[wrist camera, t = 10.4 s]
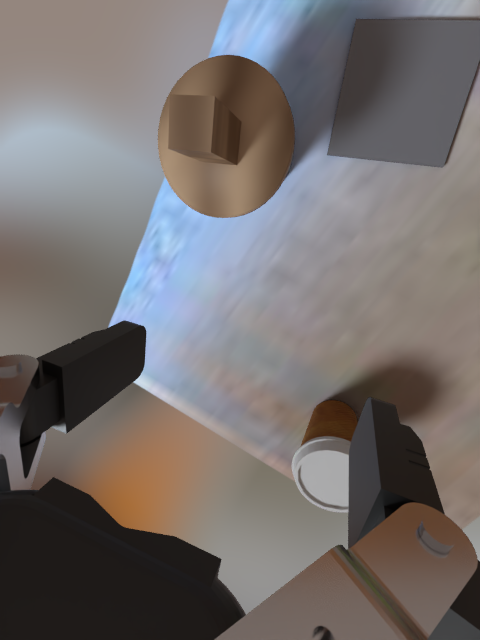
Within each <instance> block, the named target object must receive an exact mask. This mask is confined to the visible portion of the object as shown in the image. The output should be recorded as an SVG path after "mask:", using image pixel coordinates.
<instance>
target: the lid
mask: <svg viewBox="0 0 480 640" xmlns="http://www.w3.org/2000/svg"><path fill="white" fill-rule="evenodd" d="M294 144H295V128H294V121H293V116H292V112H291V109H290V106H289V104H288V101H287V99H286V96H285V94H284V92H283V90H282V89H281V87H280V85H279V84H278V82H277V81H276V80H275V78H274V77H273V76H272V75H271V74H270V73H269V72H268V71H267V70H266V69H265V68H264V67H262V66H261V65H259V64H258V63H256V62H254V61H252V60H250V59H248V58H244V57H240V56H234V55H222V56H216V57H212V58H209V59H206V60H204V61H202V62H200V63H198V64H196V65H195V66H193V67H192V68H191V69H189V70H188V71H187V72H186V73H185V74H184V75H183V76H182V77H181V78H180V79H179V80H178V81H177V83H176V84H175V86H174V87H173V88H172V90H171V92H170V94H169V96H168V97H167V100H166V102H165V105H164V107H163V110H162V114H161V117H160V123H159V129H158V149H159V157H160V161H161V165H162V169H163V171H164V174H165V177H166V179H167V181H168V183H169V185H170V186H171V188H172V189H173V191H174V192H175V193H176V195H177V196H178V197H179V198H180V199H181V200H182V201H183V202H184V203H185V204H186V205H188V206H189V207H190V208H192V209H194V210H195V211H197V212H199V213H202V214H204V215H207V216H212V217H220V218H229V217H237V216H242V215H245V214H248V213H250V212H252V211H254V210H256V209H258V208H259V207H261V206H262V205H263V204H265V203H266V202H267V201H268V200H269V199H270V198H271V197H272V196H273V195H274V194H275V193H276V191H277V190H278V189H279V187H280V186H281V184H282V183H283V181H284V179H285V177H286V175H287V173H288V170H289V167H290V164H291V161H292V157H293V152H294Z"/></svg>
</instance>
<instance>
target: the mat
mask: <svg viewBox="0 0 480 640" xmlns="http://www.w3.org/2000/svg"><path fill="white" fill-rule="evenodd" d="M479 61H480V20H395V19H356V22H355V27H354V32H353V36H352V41H351V46H350V50H349V55H348V60H347V64H346V69H345V74H344V78H343V83H342V88H341V92H340V97H339V102H338V106H337V111H336V116H335V120H334V125H333V130H332V134H331V139H330V144H329V148H328V153H327V155H331V156H340V157H350V158H359V159H368V160H378V161H387V162H396V163H406V164H415V165H424V166H434V167H444V164H445V161H446V158H447V155H448V152H449V149H450V146H451V143H452V140H453V137H454V134H455V132H456V129H457V126H458V123H459V120H460V117H461V114H462V111H463V108H464V105H465V102H466V99H467V96H468V93H469V90H470V87H471V84H472V81H473V78H474V75H475V72H476V70H477V67H478V64H479Z"/></svg>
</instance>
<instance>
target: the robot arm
mask: <svg viewBox="0 0 480 640" xmlns="http://www.w3.org/2000/svg"><path fill="white" fill-rule="evenodd" d="M145 346H146V329H145V327H144V326H141V325H138V324H135V323H132V322H128V321H122V322H120V323H118V324H115V325H113V326H111V327H109V328H107V329H105V330H101V331H96V332H92V333H91V334H88V335H86V336H84V337H82V338H81V339H77V340H75V341H73V342H72V343H71V344H70V343H69V344H67V345H64V346H62V347H60V348H58V349H56V350H53V351H51V352H49V353H47V354H45V355H43V356H41V357H38V358H34V357H31V356H28V355H6V356H1V357H0V640H480V561H478V560H477V555H476V552H475V549H474V547H473V545H472V543H471V542H470V540H469V539H468V537H467V536H466V534H465V533H464V532H463V531H462V530H461V529H460V528H459V527H458V525H457V524H455V523H454V522H453V521H452V520H451V519H450V518H448V517H447V516H446V515H445V514H444V510H443V507H442V504H441V501H440V498H439V495H438V491H437V488H436V485H435V482H434V479H433V476H432V472H431V470H429V469H430V466H429V463H428V460H427V458H426V453H425V450H424V447H423V444H422V441H421V440H420V439H419V437H418V436H417V435H416V434H415V432H414V431H413V430H412V429H411V427H409V426H406V425H402V424H400V423H399V418H398V414H397V410H396V406H395V405H394V404H390V403H387V402H384V401H381V400H378V399H374V398H371V397H369V398H368V399H367V401H366V403H365V405H364V408H363V410H362V413H361V416H360V418H359V421H358V424H357V426H356V429H355V431H354V434H353V437H352V440H351V444H350V449H349V506H348V513H349V514H348V529H349V530H348V550H346V549H345V548H344V547H343V545H338V546H335V547H333V548H332V549H330V550H329V551H328V552H326V553H325V554H324V555H323V556H321V557H320V558H319V559H317V560H316V561H315V562H314V563H312V564H311V565H310V566H308V567H307V568H306V569H305V570H303V571H302V572H301V573H299V574H298V575H297V576H296V577H295V578H293V579H292V580H291V581H289V582H288V583H287V584H285V585H284V586H283V587H281V588H280V589H279V590H278V591H276V592H275V593H274V594H272V595H271V596H270V597H269V598H267V599H266V600H265V601H263V602H262V603H261V604H260V605H258V606H257V607H256V608H254V609H253V610H252V611H251V612H249V613H248V614H247V615H246V614H245V612H244V610H243V609H242V607H241V606H240V604H239V603H238V601H237V599H236V598H235V597H234V595H233V594H232V593H231V592H230V591H229V590H228V588H227V587H226V586H225V585H224V584H223V583H222V582H221V581H220V580H219V579H218V578H217V577H218V572H219V568H220V563H221V559H220V558H218V557H216V556H214V555H212V554H210V553H208V552H206V551H204V550H201V549H199V548H197V547H195V546H193V545H191V544H189V543H187V542H185V541H183V540H181V539H179V538H177V537H174V536H169V535H163V534H157V533H152V532H146V531H140V530H135V529H129V528H125V527H123V526H121V525H120V524H118V523H117V522H116V521H115V520H114V519H113V518H112V517H111V516H110V515H109V514H108V513H107V512H106V511H105V510H104V509H103V508H102V507H101V506H100V505H99V504H98V503H97V502H96V501H95V500H94V499H93V498H92V497H91V496H90V495H89V494H87V493H85V492H82V491H81V490H79V489H76V488H74V487H72V486H70V485H68V484H66V483H64V482H62V481H60V480H58V479H56V478H54V477H53V478H52V479H51V480H50V481H49V482H48V483H47V484H45V485H44V486H43V487H42V488H41V489H40V490H30V489H31V485H32V482H33V479H34V475H35V472H36V469H37V466H38V463H39V459H40V456H41V453H42V449H43V446H44V443H45V439H46V436H45V431H46V430H48V429H49V428H50V427H52V428H54V429H57V430H59V431H61V432H64V433H68V432H69V431H70V430H72V429H73V428H74V427H75V426H77V425H78V424H79V423H81V422H82V421H83V420H85V419H86V418H87V417H88V416H90V415H91V414H92V413H94V412H95V411H96V410H97V409H99V408H100V407H101V406H103V405H104V404H105V403H106V402H108V401H109V400H110V399H111V398H113V397H114V396H116V395H117V394H118V393H119V392H121V391H122V390H123V389H125V388H126V387H127V386H128V385H130V384H131V383H132V382H134V381H135V380H136V379H137V378H138V377H139V376H140V374H141V373H142V371H143V368H144V364H145Z"/></svg>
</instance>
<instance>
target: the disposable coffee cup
mask: <svg viewBox="0 0 480 640" xmlns="http://www.w3.org/2000/svg"><path fill="white" fill-rule="evenodd" d="M357 424H358V421H357V417H356V414H355V412H354V411H353V410H352V408H351V407H349V406H348V405H347V404H345V403H343V402H340V401H337V400H329V401H324V402H322V403H320V404H319V405H317V406H316V408H315V409H314V411H313V414H312V416H311V419H310V422H309V425H308V428H307V430H306V433H305V436H304V439H303V441H302V444H301V447H300V448H299V449H298V450H297V451H296V453H295V455H294V457H293V460H292V473H293V476H294V479H295V481H296V485H297V487H298V489H299V491H300V492H301V493H302V494H303V496H304V497H305V498H306V499H307V500H309V501H310V502H311V503H313V504H314V505H316V506H318V507H320V508H323V509H325V510H329V511H334V512H348V506H349V449H350V444H351V440H352V437H353V434H354V431H355V429H356V426H357Z"/></svg>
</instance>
